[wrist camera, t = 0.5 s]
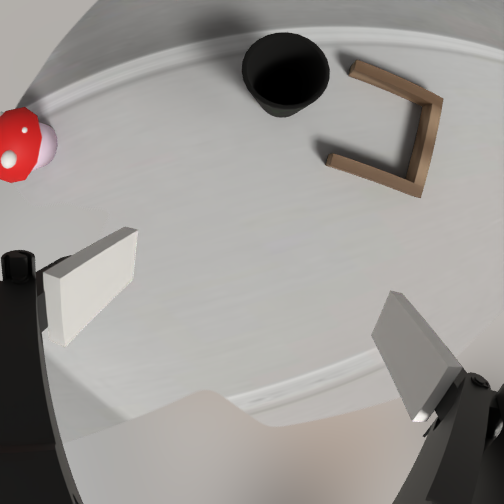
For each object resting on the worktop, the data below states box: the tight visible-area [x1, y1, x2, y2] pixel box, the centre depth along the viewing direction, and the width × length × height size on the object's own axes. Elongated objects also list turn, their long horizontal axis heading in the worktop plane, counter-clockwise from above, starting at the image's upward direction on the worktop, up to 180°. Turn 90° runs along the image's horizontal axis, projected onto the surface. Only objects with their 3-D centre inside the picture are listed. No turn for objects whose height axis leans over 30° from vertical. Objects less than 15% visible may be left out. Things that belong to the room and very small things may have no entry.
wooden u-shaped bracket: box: [326, 60, 443, 198], centre depth 33 cm, size 14×12×3 cm
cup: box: [242, 33, 330, 117], centre depth 29 cm, size 8×8×12 cm
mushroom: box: [0, 107, 57, 183], centre depth 32 cm, size 11×11×12 cm
